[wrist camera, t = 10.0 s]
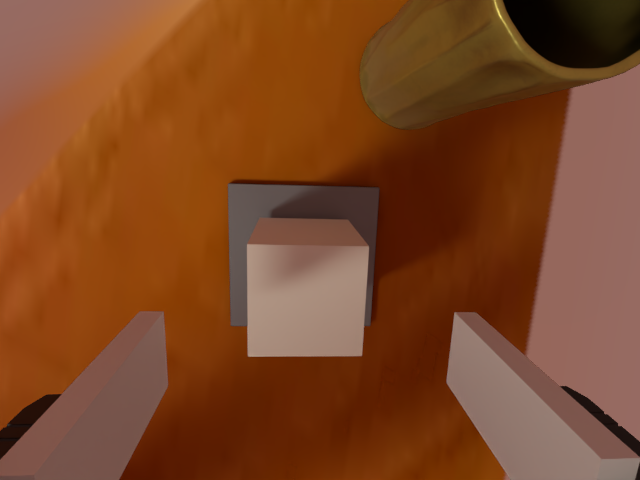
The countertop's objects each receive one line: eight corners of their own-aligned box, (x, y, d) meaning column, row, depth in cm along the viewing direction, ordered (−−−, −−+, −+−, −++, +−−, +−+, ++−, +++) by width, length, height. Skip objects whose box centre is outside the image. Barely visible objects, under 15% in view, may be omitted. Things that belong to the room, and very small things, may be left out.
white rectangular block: (259, 301, 24) (247, 356, 18) (259, 217, 23) (247, 244, 16) (343, 301, 24) (362, 355, 18) (347, 219, 23) (369, 246, 17)
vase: (423, 149, 24) (611, 150, 10) (338, 92, 22) (412, -1, 9) (483, 58, 23) (786, -88, 9) (397, -7, 22) (588, -290, 8)
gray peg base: (231, 323, 25) (209, 387, 18) (229, 183, 23) (203, 197, 16) (369, 323, 26) (396, 385, 19) (378, 187, 24) (412, 202, 17)
